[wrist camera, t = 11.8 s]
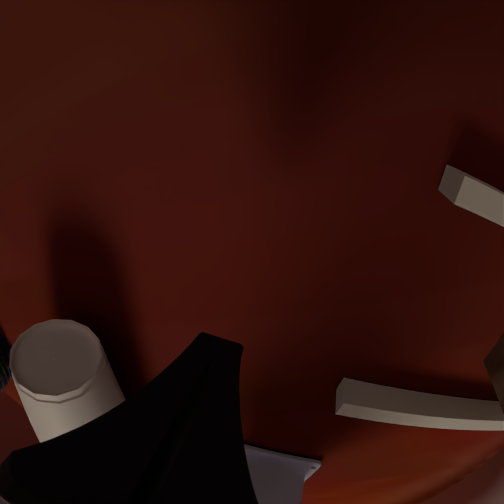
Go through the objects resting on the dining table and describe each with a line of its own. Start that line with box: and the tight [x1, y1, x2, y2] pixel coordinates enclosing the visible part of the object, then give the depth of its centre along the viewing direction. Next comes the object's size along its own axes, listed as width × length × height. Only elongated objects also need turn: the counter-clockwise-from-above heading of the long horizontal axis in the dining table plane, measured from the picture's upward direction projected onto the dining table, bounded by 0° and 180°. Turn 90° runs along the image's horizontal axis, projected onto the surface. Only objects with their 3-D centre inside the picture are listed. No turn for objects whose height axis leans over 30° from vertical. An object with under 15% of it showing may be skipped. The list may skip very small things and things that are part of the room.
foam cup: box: [9, 319, 126, 443], centre depth 19 cm, size 10×9×13 cm
